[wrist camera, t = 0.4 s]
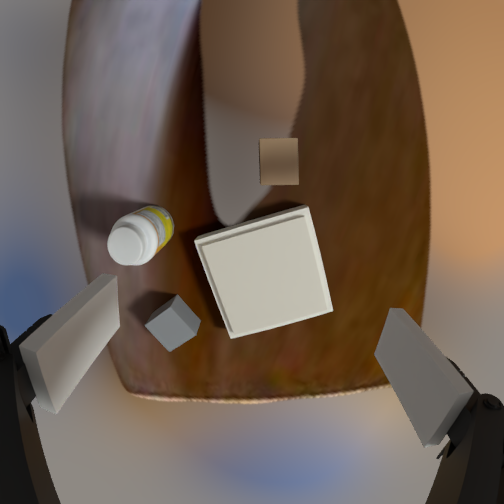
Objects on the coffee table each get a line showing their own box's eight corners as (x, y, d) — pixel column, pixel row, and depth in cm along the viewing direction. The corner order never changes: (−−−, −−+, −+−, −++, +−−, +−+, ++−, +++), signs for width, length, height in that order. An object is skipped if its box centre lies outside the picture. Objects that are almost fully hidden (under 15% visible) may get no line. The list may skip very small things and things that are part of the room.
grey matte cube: (153, 312, 42) (144, 325, 38) (177, 293, 41) (170, 306, 37) (175, 336, 43) (169, 351, 39) (200, 320, 42) (196, 334, 38)
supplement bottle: (138, 247, 39) (104, 273, 29) (133, 206, 37) (96, 221, 27) (177, 245, 39) (153, 272, 29) (173, 202, 37) (145, 216, 27)
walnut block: (258, 142, 35) (259, 138, 30) (291, 141, 35) (297, 138, 30) (260, 182, 36) (260, 185, 32) (292, 182, 36) (298, 184, 32)
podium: (197, 236, 38) (193, 242, 35) (305, 204, 37) (309, 207, 34) (232, 329, 42) (230, 341, 39) (329, 303, 41) (334, 313, 38)
